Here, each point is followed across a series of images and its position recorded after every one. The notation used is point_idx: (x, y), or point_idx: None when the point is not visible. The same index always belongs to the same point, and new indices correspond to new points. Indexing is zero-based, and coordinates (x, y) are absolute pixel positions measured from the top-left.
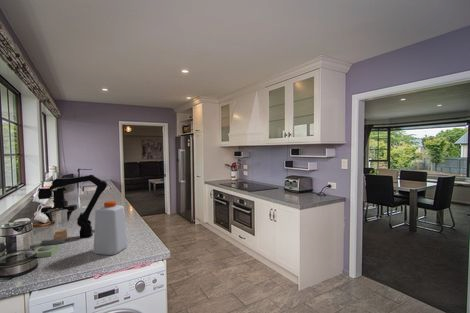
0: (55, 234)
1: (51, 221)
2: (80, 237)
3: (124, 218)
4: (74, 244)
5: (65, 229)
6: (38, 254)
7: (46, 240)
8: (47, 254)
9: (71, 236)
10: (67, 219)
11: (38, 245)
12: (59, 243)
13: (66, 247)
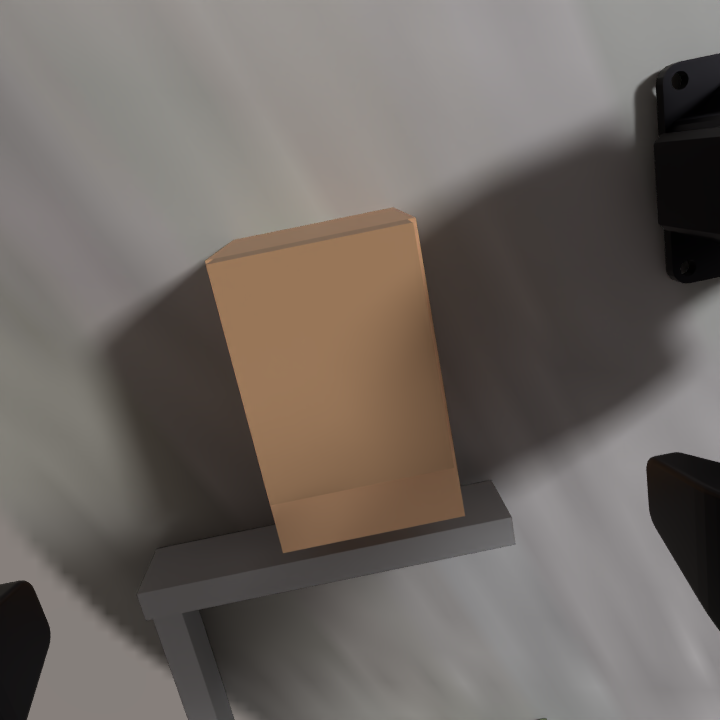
0: (307, 523)
1: (31, 699)
2: (691, 280)
3: None
4: None
5: (402, 281)
6: None
7: (215, 593)
8: None
9: (439, 136)
10: (712, 600)
11: (197, 706)
12: None
13: (623, 665)
